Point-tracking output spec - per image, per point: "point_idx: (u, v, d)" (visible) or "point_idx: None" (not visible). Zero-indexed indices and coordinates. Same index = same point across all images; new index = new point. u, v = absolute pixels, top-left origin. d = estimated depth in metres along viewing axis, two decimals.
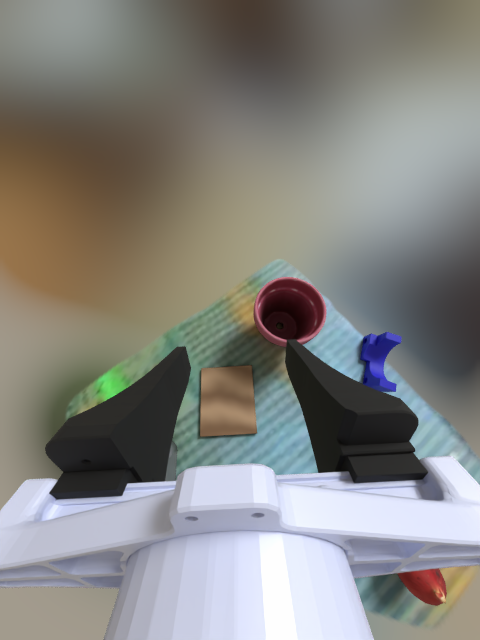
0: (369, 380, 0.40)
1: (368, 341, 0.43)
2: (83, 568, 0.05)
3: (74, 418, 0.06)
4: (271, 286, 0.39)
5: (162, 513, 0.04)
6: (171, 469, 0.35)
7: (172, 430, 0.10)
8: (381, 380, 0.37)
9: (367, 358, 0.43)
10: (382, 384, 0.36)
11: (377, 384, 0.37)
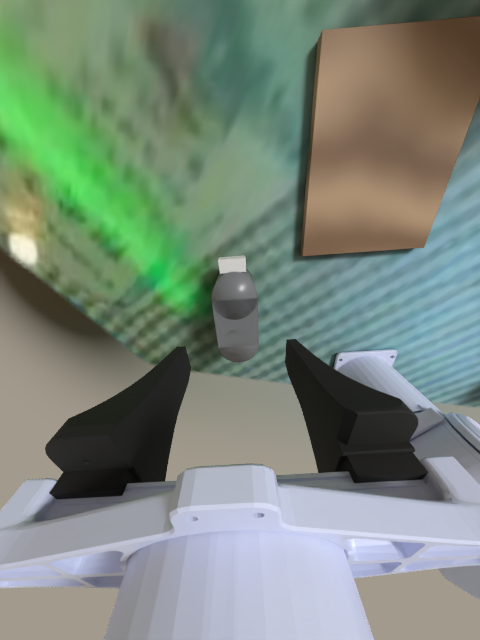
0: None
1: None
2: (83, 568, 0.05)
3: (74, 418, 0.06)
4: None
5: (162, 513, 0.04)
6: None
7: (172, 430, 0.10)
8: None
9: None
10: None
11: None
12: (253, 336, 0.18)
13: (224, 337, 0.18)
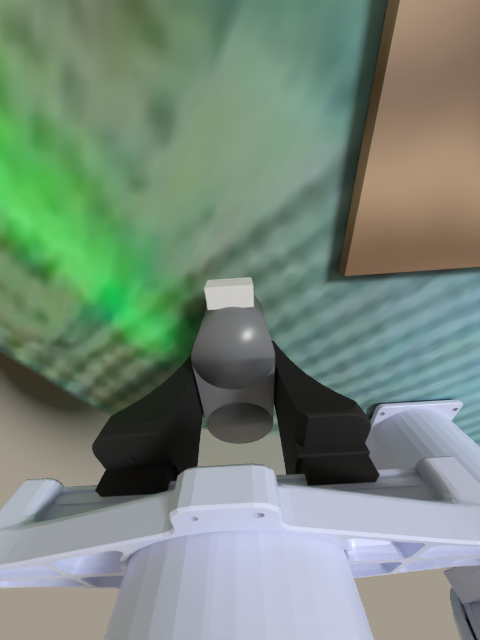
0: None
1: None
2: (83, 568, 0.05)
3: (116, 416, 0.06)
4: None
5: (162, 513, 0.04)
6: None
7: (200, 428, 0.10)
8: None
9: None
10: None
11: None
12: (264, 412, 0.11)
13: (216, 413, 0.11)
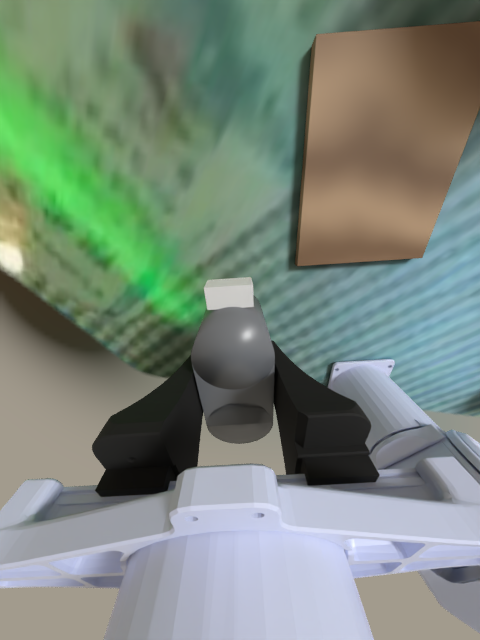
0: None
1: None
2: (83, 568, 0.05)
3: (116, 416, 0.06)
4: None
5: (162, 513, 0.04)
6: None
7: (199, 428, 0.10)
8: None
9: None
10: None
11: None
12: (264, 412, 0.11)
13: (216, 413, 0.11)
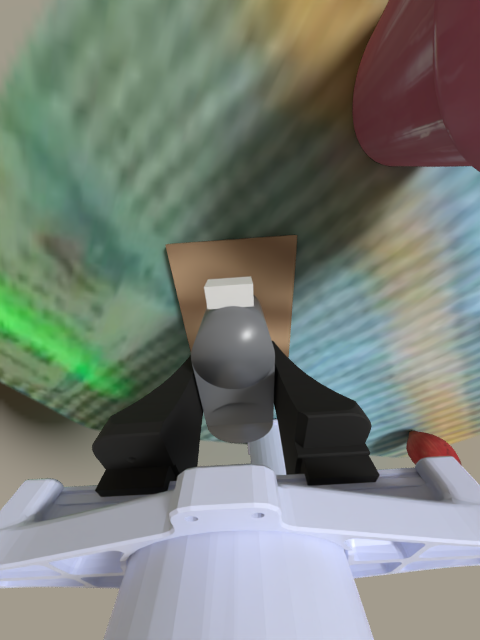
0: None
1: None
2: (83, 568, 0.05)
3: (116, 416, 0.06)
4: None
5: (162, 513, 0.04)
6: None
7: (199, 428, 0.10)
8: None
9: None
10: None
11: None
12: (264, 411, 0.11)
13: (216, 412, 0.11)
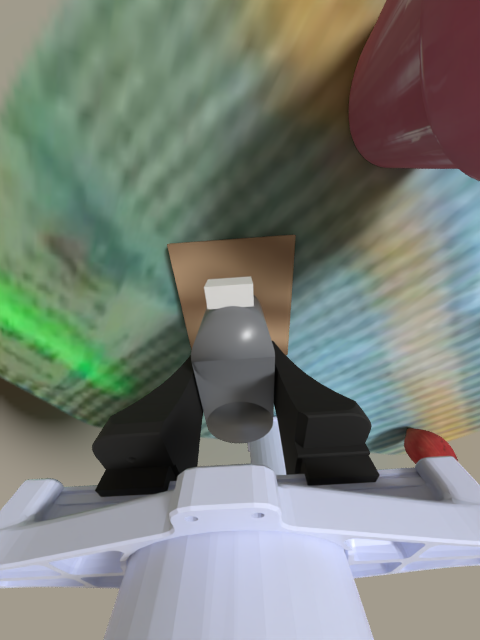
0: None
1: None
2: (83, 568, 0.05)
3: (116, 416, 0.06)
4: None
5: (162, 513, 0.04)
6: None
7: (199, 428, 0.10)
8: None
9: None
10: None
11: None
12: (264, 411, 0.11)
13: (216, 412, 0.11)
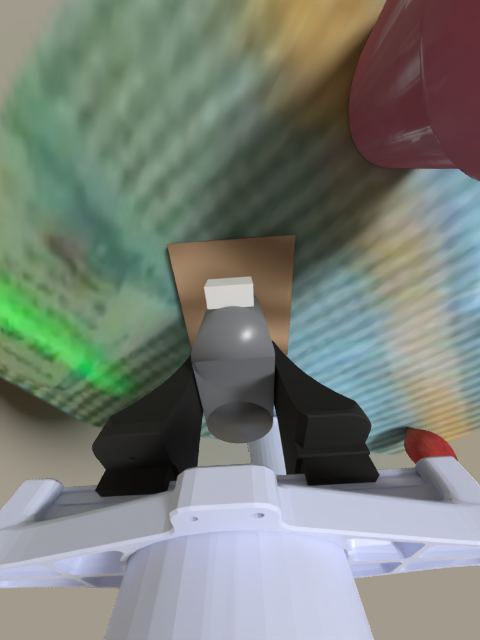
0: None
1: None
2: (83, 568, 0.05)
3: (116, 416, 0.06)
4: None
5: (162, 513, 0.04)
6: None
7: (199, 428, 0.10)
8: None
9: None
10: None
11: None
12: (264, 411, 0.11)
13: (216, 412, 0.11)
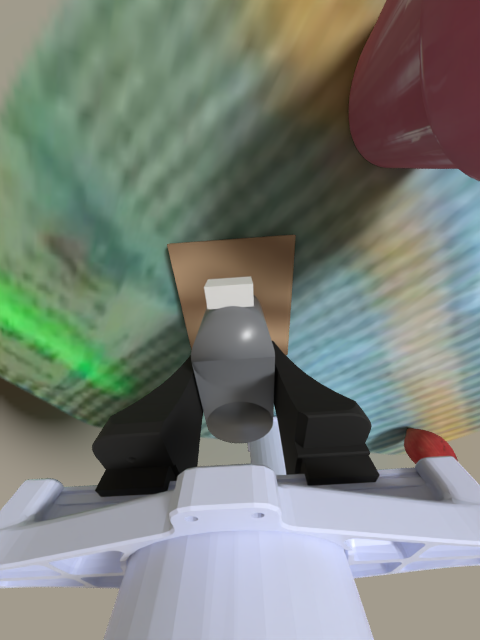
0: None
1: None
2: (83, 568, 0.05)
3: (116, 416, 0.06)
4: None
5: (162, 513, 0.04)
6: None
7: (199, 428, 0.10)
8: None
9: None
10: None
11: None
12: (264, 411, 0.11)
13: (216, 412, 0.11)
